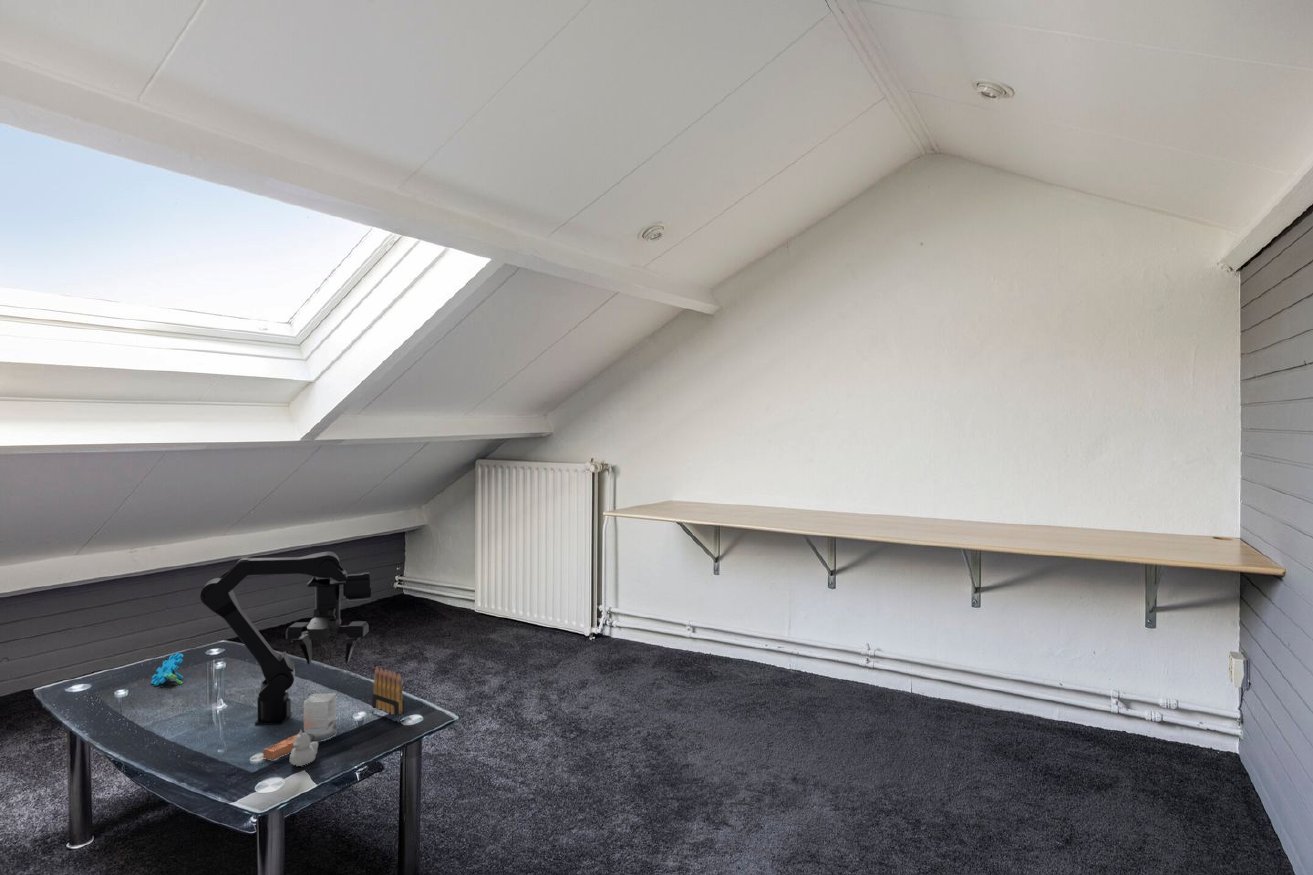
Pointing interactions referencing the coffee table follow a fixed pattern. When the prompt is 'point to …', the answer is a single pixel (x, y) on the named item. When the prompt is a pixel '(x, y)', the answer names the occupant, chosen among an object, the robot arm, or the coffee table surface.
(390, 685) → the ammunition clip
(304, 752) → the rubber duck
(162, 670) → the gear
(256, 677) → the coffee table surface
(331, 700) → the small white cube
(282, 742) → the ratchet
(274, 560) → the robot arm
